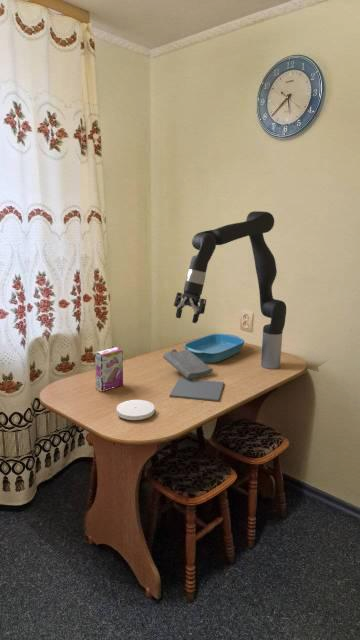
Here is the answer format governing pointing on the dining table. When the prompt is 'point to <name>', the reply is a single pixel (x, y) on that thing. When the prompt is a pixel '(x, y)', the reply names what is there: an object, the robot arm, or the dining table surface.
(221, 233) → the robot arm
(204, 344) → the casserole dish
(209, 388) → the mat
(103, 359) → the candy bar box
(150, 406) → the plastic lid
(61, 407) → the dining table surface
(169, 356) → the hip flask
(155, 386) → the dining table surface
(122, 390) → the dining table surface
